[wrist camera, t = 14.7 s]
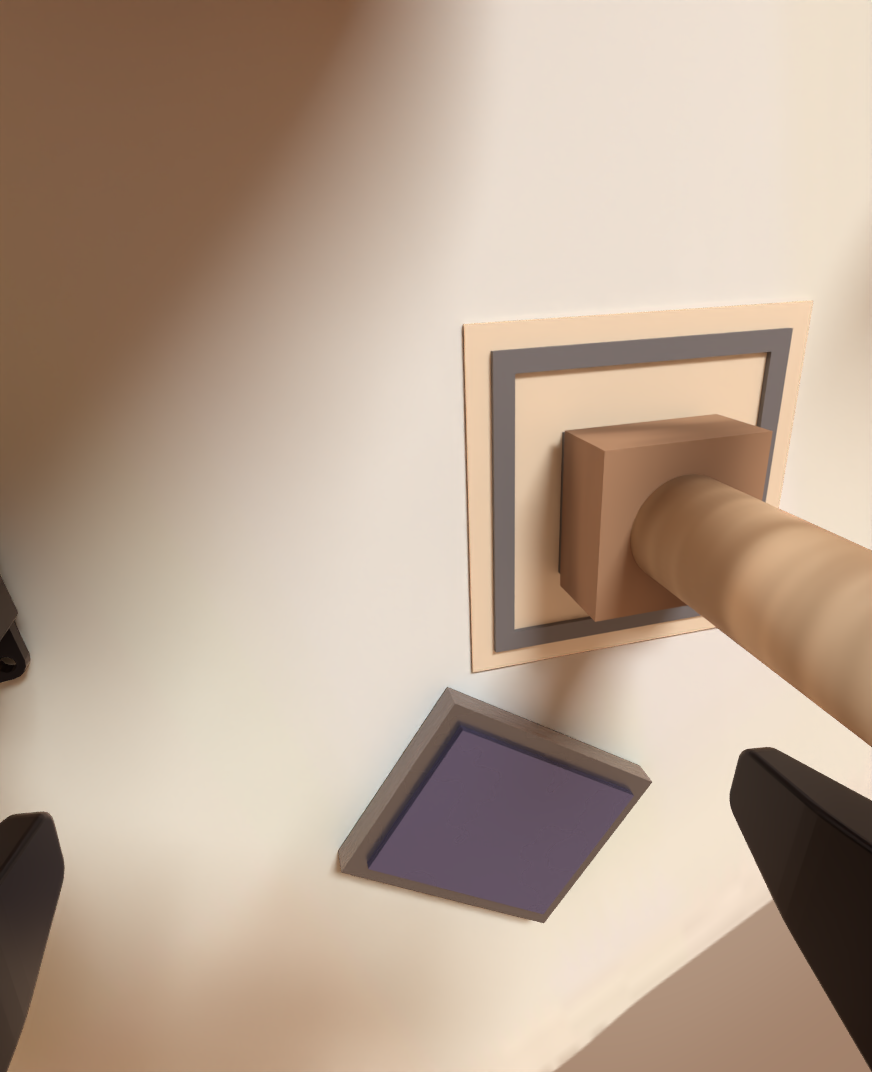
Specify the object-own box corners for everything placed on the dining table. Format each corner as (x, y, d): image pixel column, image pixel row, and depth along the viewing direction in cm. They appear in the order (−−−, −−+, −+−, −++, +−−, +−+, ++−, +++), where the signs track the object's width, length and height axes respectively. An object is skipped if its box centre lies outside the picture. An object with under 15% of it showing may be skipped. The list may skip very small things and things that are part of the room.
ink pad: (338, 850, 25) (342, 879, 24) (447, 686, 24) (457, 708, 23) (535, 903, 29) (546, 929, 28) (639, 765, 28) (656, 787, 27)
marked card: (472, 671, 24) (474, 675, 24) (463, 324, 19) (466, 325, 19) (758, 617, 26) (763, 621, 26) (811, 300, 22) (818, 301, 22)
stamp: (552, 578, 23) (814, 846, 12) (556, 426, 21) (875, 589, 10) (688, 556, 24) (1037, 784, 13) (705, 410, 22) (1132, 542, 11)
